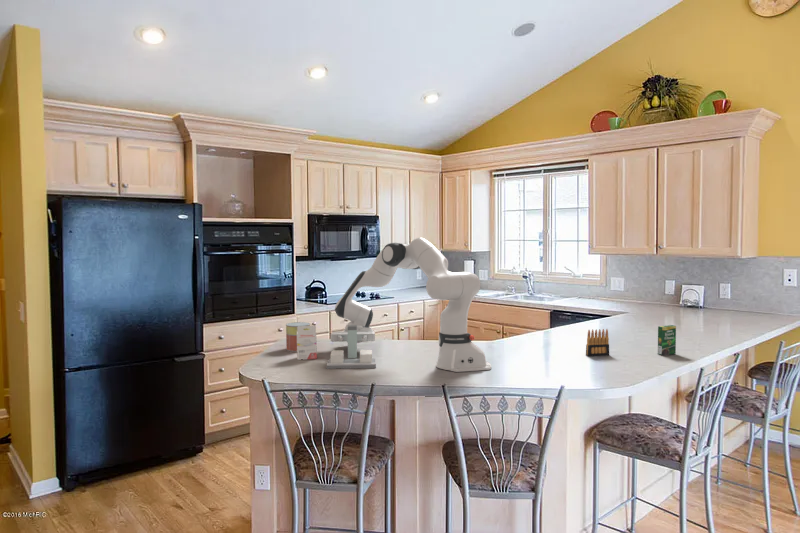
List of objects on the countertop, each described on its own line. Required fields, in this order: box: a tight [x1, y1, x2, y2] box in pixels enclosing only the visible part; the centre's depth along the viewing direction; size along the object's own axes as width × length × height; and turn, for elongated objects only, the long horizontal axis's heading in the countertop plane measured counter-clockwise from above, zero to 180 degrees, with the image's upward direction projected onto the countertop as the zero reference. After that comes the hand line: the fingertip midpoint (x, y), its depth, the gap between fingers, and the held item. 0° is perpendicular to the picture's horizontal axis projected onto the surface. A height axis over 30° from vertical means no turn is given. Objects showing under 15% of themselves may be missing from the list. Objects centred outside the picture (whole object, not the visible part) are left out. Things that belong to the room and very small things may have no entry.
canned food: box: [285, 321, 311, 353], centre depth 271 cm, size 11×11×12 cm
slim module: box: [347, 325, 358, 359], centre depth 253 cm, size 4×4×14 cm
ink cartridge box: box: [296, 325, 318, 361], centre depth 251 cm, size 9×5×15 cm, turn 101°
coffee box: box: [657, 324, 677, 356], centre depth 258 cm, size 8×3×13 cm, turn 107°
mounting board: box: [326, 349, 377, 370], centre depth 239 cm, size 20×12×5 cm, turn 94°
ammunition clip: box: [585, 328, 610, 357], centre depth 256 cm, size 11×2×12 cm, turn 102°
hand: (352, 339), depth 253 cm, fingers open, 8 cm apart
